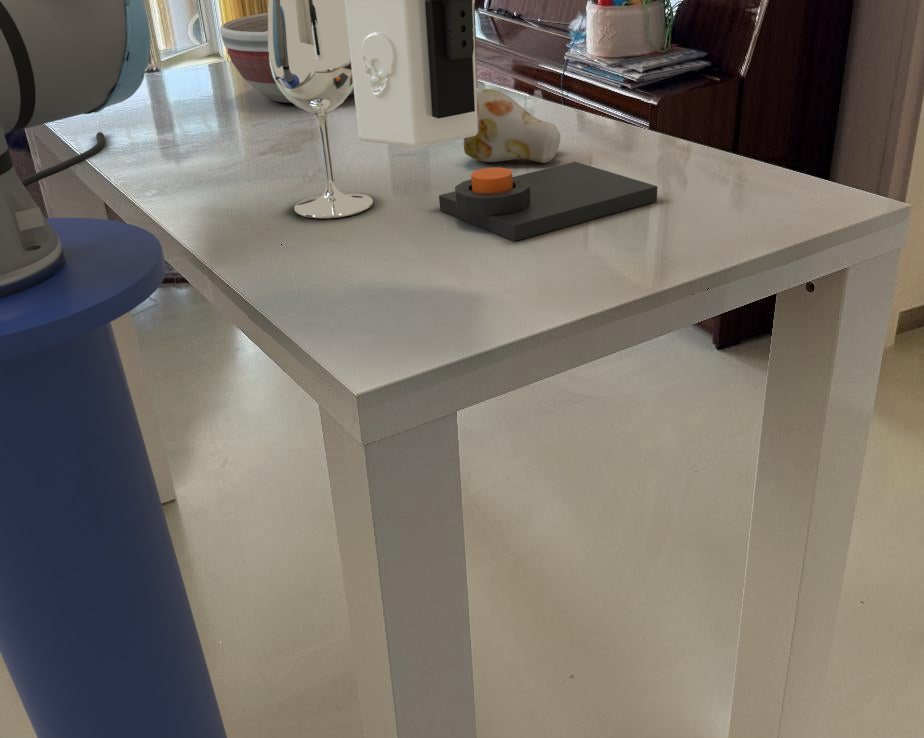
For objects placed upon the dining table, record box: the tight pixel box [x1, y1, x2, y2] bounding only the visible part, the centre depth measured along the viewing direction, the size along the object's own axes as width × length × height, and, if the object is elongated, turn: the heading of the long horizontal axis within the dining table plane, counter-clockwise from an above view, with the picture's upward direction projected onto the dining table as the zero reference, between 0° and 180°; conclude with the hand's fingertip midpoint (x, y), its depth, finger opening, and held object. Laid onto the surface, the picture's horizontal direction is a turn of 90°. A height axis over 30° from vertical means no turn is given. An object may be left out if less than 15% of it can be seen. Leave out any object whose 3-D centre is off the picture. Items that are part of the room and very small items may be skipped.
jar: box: [344, 0, 479, 148], centre depth 62 cm, size 9×8×12 cm
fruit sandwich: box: [463, 88, 561, 164], centre depth 102 cm, size 8×10×10 cm
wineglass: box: [267, 0, 374, 220], centre depth 88 cm, size 8×8×20 cm
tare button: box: [470, 167, 513, 194], centre depth 85 cm, size 4×4×2 cm
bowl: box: [219, 12, 354, 104], centre depth 136 cm, size 23×23×10 cm
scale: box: [438, 161, 659, 242], centre depth 89 cm, size 12×17×3 cm
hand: (418, 102), depth 65 cm, fingers closed on jar, 8 cm apart
